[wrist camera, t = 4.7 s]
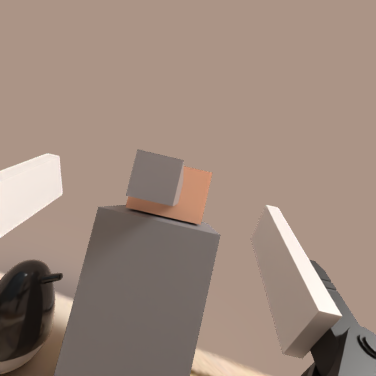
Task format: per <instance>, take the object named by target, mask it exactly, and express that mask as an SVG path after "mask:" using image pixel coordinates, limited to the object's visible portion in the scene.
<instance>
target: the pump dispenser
mask: <svg viewBox="0 0 376 376" xmlns="http://www.w3.org/2000/svg"><path fill="white" fill-rule="evenodd" d="M62 278H63V275H62V273H54V274H51V272H50V269H49V267H48V266H47V264H45V263H44V262H42V261H40V260H26V261H23V262H20V263H18V264H17V265H15V266H14V267H12V268H11V269H10V270H9V271H8V272H7V273H6V274H5V275H4V276H3V277H2V278H1V280H0V374H4V373H7V372H10V371H12V370H15V369H17V368H19V367H20V366H22V365H24V364H25V363H26V362H28V361H29V360H30V359H31V358H32V357H33V356H34V355H35V354H36V353H37V352H38V351H39V350H40V348H41V347H42V345H43V344H44V342H45V341H46V340H47V338H48V337H49V335H50V333H51V329H52V325H53V319H54V310H55V291H54V282H55V281H59V280H61V279H62Z"/></svg>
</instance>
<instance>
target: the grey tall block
mask: <svg viewBox="0 0 376 376" xmlns="http://www.w3.org/2000/svg"><path fill="white" fill-rule="evenodd" d="M219 239H220V234H218V233H217V232H216V231H215V230H214V229H213V228H212V227H211V226H210V225H209V224H207V223H204V222H201V225H199V224H195V223H191V222H186V221H182V220H178V219H174V218H169V217H165V216H161V215H156V214H152V213H148V212H143V211H139V210H135V209H130V208H126V205H119V206H105V207H98V210H97V214H96V218H95V222H94V225H93V229H92V233H91V237H90V241H89V244H88V248H87V252H86V256H85V260H84V264H83V267H82V271H81V275H80V278H79V283H78V286H77V290H76V294H75V297H74V301H73V305H72V309H71V313H70V316H69V320H68V324H67V328H66V332H65V335H64V339H63V343H62V347H61V350H60V354H59V358H58V362H57V366H56V369H55V373H54V376H190V372H191V367H192V363H193V358H194V354H195V349H196V344H197V340H198V335H199V331H200V326H201V321H202V317H203V312H204V307H205V303H206V298H207V294H208V289H209V285H210V280H211V275H212V271H213V266H214V262H215V257H216V252H217V248H218V243H219Z"/></svg>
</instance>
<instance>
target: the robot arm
mask: <svg viewBox="0 0 376 376" xmlns="http://www.w3.org/2000/svg"><path fill="white" fill-rule="evenodd" d="M62 194H63V192H62V180H61V170H60V157H59V156H56V155H53V154H48V153H47V154H44V155H42V156H39V157H36V158H33V159H31V160H28V161H25V162H22V163H20V164H17V165H15V166H12V167H9V168H7V169H4V170H1V171H0V237H2V236H3V235H5V234H6V233H8V232H9V231H11V230H12V229H13V228H15V227H16V226H18V225H19V224H21V223H22V222H24V221H25V220H26V219H28V218H29V217H31V216H32V215H34V214H35V213H36V212H38V211H39V210H41V209H42V208H44V207H45V206H47V205H48V204H49V203H51V202H52V201H54V200H55V199H57V198H58V197H60V196H61V195H62ZM251 242H252V245H253V249H254V252H255V256H256V259H257V263H258V267H259V270H260V274H261V278H262V281H263V285H264V288H265V292H266V296H267V299H268V303H269V306H270V310H271V314H272V317H273V321H274V324H275V328H276V332H277V335H278V339H279V342H280V346H281V350H282V353H283V354H285V355H289V356H293V357H298V358H303V357H304V356H305V355H306V354H307V353H308V352H309V351H311V354H312V356H313V358H314V361H315V362H314V363H313V364H312V365H311V366H310V367H309V368H308V369H307V370H306V371H305V372H304V373H303V374H302V375H301V376H376V335H375V334H374V333H373V332H371V331H369V330H368V329H366V328H364V327H361V326H360V325H359V324H358V322H357V321H356V319H355V318H354V316H353V314H352V313H351V311H350V310H349V308H348V307H347V305H346V304H345V302H344V301H343V299H342V297H341V296H340V294H339V293H338V292H337V291H336V288H335V286H334V285H333V283H331V280H330V279H329V277H328V276H327V274H326V272H325V271H324V270H323V269H322V268H321V267H320V266H319V265H318V264H317V263H316V262H315V261H312V260H309V259H308V258H307V256H306V254H305V252H304V251H303V249H302V247H301V245H300V244H299V242H298V240H297V239H296V237H295V235H294V234H293V232H292V230H291V229H290V227H289V225H288V224H287V222H286V220H285V218H284V217H283V215H282V214H281V212H280V210H279V208H277V207H273V206H269V205H266V206H265V208H264V211H263V213H262V215H261V217H260V219H259V221H258V224H257V226H256V228H255V230H254V233H253V235H252V237H251Z"/></svg>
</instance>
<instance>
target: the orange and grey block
mask: <svg viewBox="0 0 376 376" xmlns="http://www.w3.org/2000/svg"><path fill="white" fill-rule="evenodd" d="M211 177H212V173H211V172H207V171H203V170H198V169H194V168H190V167H186V166H184V161H183V160H180V159H176V158H172V157H167V156H163V155H159V154H154V153H151V152H146V151H142V150H137V154H136V158H135V162H134V166H133V170H132V173H131V177H130V181H129V185H128V189H127V193H126V196H128V200H127V204H126V208H130V209H135V210H139V211H143V212H148V213H152V214H156V215H161V216H165V217H169V218H174V219H178V220H182V221H186V222H191V223H195V224H199V225H201V221H202V217H203V213H204V208H205V204H206V199H207V195H208V190H209V186H210V181H211Z"/></svg>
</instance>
